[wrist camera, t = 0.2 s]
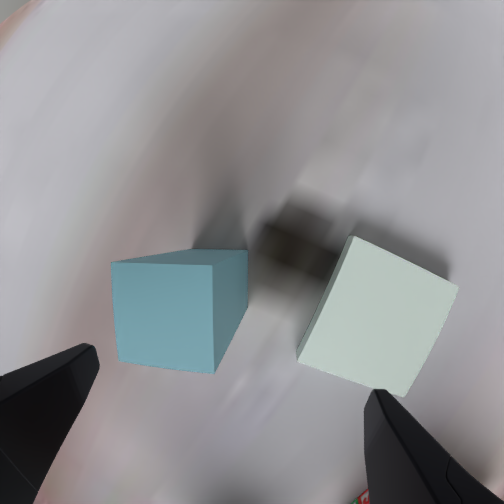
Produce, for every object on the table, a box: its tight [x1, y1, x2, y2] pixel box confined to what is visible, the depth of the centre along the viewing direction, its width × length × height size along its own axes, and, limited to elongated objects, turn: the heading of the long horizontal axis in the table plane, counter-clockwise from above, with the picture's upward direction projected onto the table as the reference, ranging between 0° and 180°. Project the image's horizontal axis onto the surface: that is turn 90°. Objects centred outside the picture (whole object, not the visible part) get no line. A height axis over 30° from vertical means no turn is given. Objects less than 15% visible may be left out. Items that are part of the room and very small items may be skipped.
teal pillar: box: [111, 249, 248, 374], centre depth 18 cm, size 4×4×12 cm
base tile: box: [296, 236, 459, 397], centre depth 22 cm, size 10×10×2 cm
